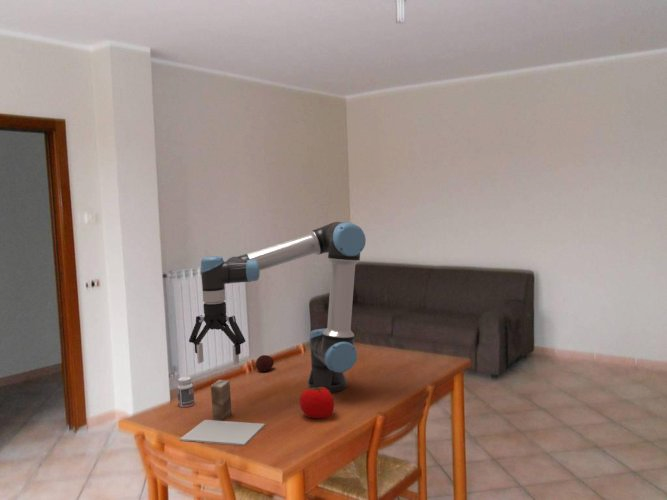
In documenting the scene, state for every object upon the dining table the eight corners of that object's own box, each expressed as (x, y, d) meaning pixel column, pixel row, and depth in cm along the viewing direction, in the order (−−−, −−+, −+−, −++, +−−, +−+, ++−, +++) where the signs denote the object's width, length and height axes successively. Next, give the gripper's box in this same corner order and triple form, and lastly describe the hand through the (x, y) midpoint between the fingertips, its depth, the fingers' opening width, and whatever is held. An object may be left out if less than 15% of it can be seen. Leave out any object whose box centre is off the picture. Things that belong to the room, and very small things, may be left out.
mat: (265, 425, 193) (264, 423, 193) (244, 445, 177) (244, 443, 177) (205, 421, 199) (204, 419, 199) (179, 440, 184) (179, 438, 184)
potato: (278, 368, 258) (277, 353, 257) (265, 374, 251) (265, 358, 250) (265, 366, 262) (264, 351, 261) (252, 372, 254) (251, 356, 254)
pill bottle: (197, 402, 218) (195, 376, 217) (188, 408, 213) (187, 381, 212) (184, 401, 220) (182, 375, 219) (175, 406, 215) (173, 380, 214)
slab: (231, 414, 205) (229, 380, 204) (223, 420, 199) (221, 385, 198) (221, 413, 206) (219, 379, 205) (213, 419, 200) (210, 385, 199)
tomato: (325, 424, 191) (323, 394, 190) (293, 418, 198) (291, 388, 197) (343, 413, 200) (341, 384, 200) (312, 407, 207) (310, 379, 206)
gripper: (252, 300, 199) (256, 361, 201) (187, 299, 207) (191, 358, 208) (243, 304, 192) (246, 367, 194) (176, 303, 200) (180, 364, 201)
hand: (218, 363), depth 201 cm, fingers open, 13 cm apart
